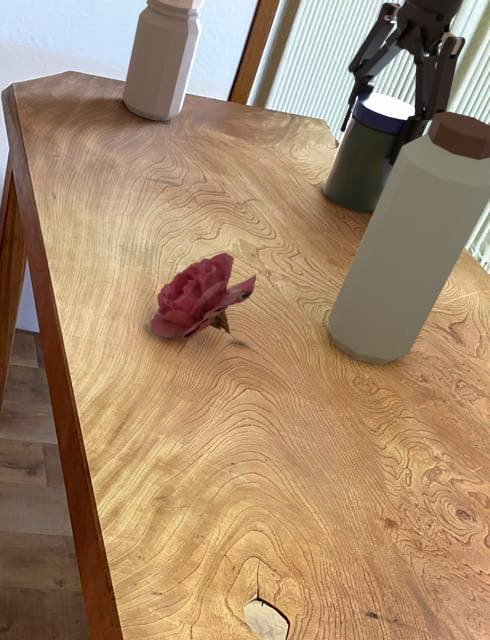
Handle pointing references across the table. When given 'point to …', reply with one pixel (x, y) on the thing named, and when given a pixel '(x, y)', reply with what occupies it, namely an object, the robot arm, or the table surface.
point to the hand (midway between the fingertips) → (371, 147)
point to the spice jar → (360, 166)
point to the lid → (382, 111)
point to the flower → (199, 299)
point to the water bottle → (413, 239)
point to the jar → (162, 58)
